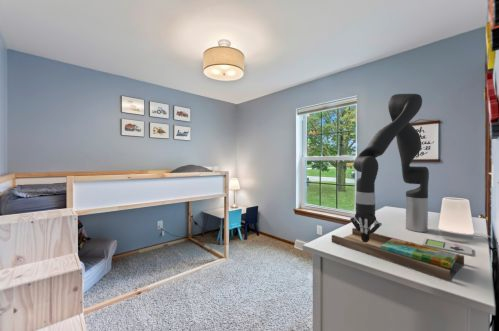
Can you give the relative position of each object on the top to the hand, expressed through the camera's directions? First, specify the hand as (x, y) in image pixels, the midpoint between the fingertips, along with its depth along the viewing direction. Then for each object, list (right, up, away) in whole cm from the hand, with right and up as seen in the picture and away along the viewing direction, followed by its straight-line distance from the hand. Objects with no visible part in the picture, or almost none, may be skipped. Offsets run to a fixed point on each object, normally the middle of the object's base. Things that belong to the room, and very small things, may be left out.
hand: (365, 241), depth 95 cm
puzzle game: (+11, -1, -16) cm, 19 cm away
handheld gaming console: (+32, -2, -4) cm, 32 cm away
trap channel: (+6, -1, -8) cm, 10 cm away
